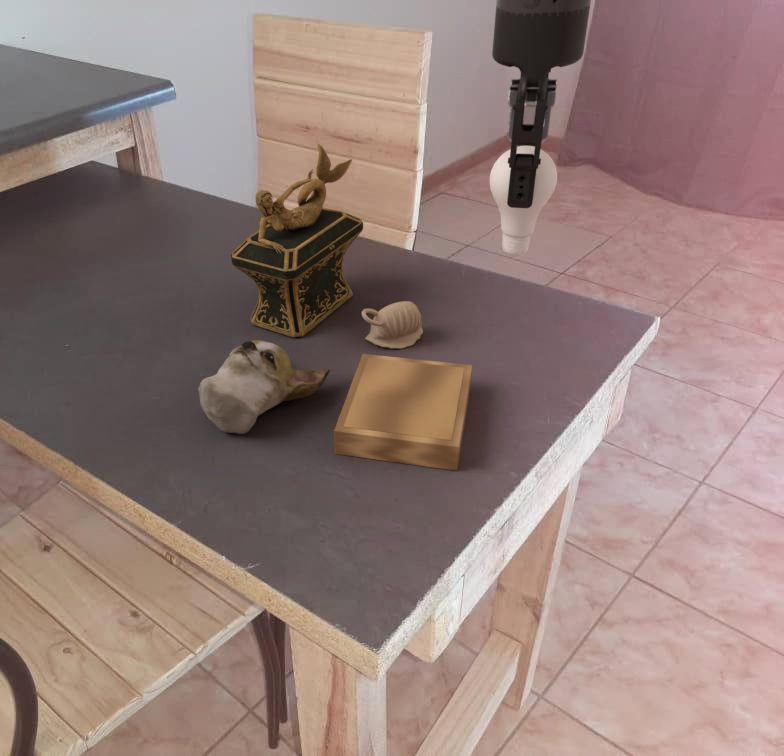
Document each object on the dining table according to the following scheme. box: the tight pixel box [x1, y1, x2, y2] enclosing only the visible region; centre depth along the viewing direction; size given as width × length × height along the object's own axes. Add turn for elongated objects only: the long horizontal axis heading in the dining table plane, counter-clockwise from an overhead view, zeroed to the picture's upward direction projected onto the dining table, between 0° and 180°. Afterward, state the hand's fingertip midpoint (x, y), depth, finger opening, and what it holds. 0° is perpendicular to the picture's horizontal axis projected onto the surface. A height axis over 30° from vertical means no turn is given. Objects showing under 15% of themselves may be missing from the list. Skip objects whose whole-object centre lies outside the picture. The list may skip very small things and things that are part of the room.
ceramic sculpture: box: [197, 339, 331, 435], centre depth 82 cm, size 11×9×15 cm
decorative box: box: [230, 143, 364, 338], centre depth 97 cm, size 20×10×20 cm, turn 144°
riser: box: [333, 353, 473, 471], centre depth 80 cm, size 12×14×3 cm
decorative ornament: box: [361, 300, 424, 350], centre depth 92 cm, size 4×8×5 cm, turn 108°
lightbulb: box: [489, 146, 558, 258], centre depth 75 cm, size 6×6×11 cm
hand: (521, 192), depth 74 cm, fingers closed on lightbulb, 6 cm apart
